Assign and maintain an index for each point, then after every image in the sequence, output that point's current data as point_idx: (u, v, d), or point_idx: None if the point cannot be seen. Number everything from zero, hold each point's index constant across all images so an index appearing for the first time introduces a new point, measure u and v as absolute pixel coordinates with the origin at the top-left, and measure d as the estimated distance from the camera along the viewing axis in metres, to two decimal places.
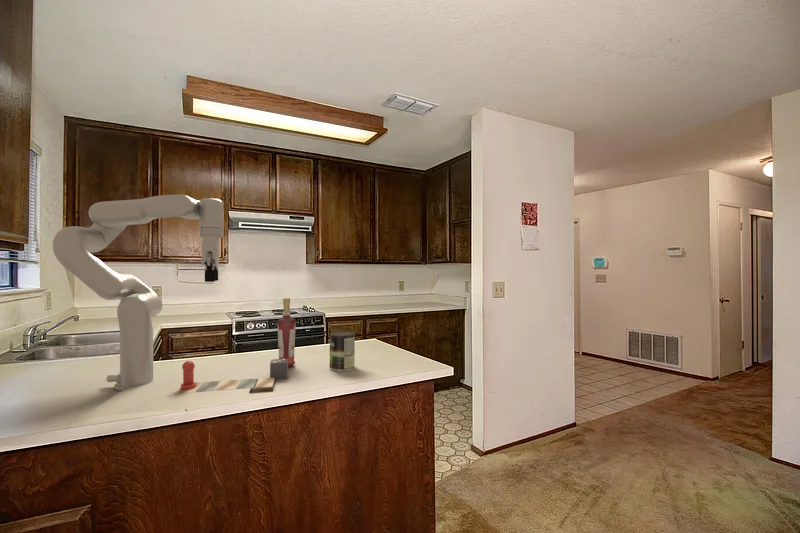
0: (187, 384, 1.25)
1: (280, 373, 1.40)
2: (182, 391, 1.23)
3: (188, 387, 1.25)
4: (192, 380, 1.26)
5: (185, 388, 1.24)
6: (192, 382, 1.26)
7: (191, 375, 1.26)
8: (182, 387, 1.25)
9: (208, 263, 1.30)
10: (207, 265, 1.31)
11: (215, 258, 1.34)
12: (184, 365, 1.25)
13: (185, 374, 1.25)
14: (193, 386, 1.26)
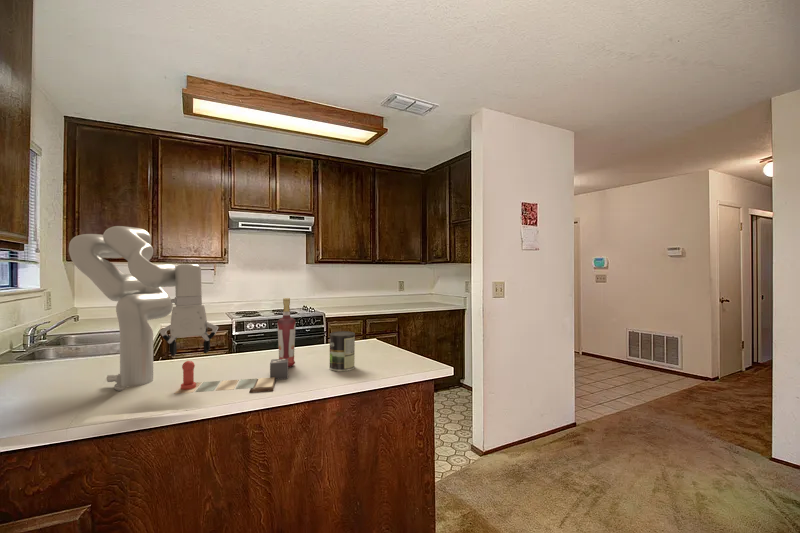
0: (187, 384, 1.25)
1: (280, 373, 1.40)
2: (182, 391, 1.23)
3: (188, 387, 1.25)
4: (192, 380, 1.26)
5: (185, 388, 1.24)
6: (192, 382, 1.26)
7: (191, 375, 1.26)
8: (182, 387, 1.25)
9: (215, 332, 1.28)
10: (213, 335, 1.28)
11: None
12: (184, 365, 1.25)
13: (185, 374, 1.25)
14: (193, 386, 1.26)
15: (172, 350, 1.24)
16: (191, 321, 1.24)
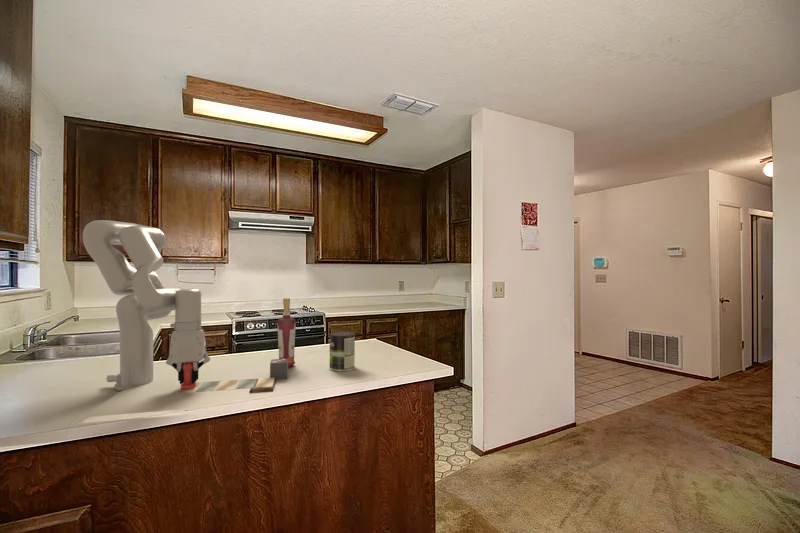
0: (187, 384, 1.25)
1: (280, 373, 1.40)
2: (182, 391, 1.23)
3: (188, 387, 1.25)
4: None
5: (185, 388, 1.24)
6: None
7: (191, 375, 1.26)
8: (182, 387, 1.25)
9: (204, 363, 1.28)
10: None
11: None
12: (184, 365, 1.25)
13: (185, 374, 1.25)
14: (193, 386, 1.26)
15: (181, 378, 1.25)
16: (190, 346, 1.24)
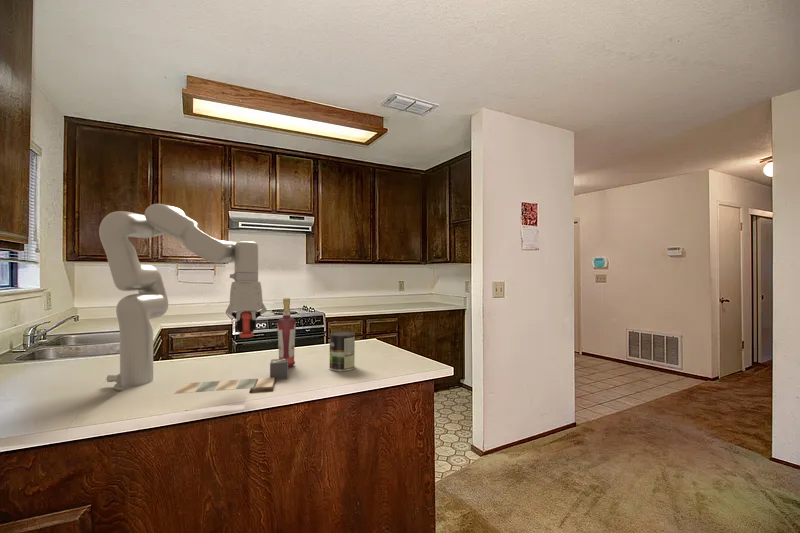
0: (246, 332, 1.29)
1: (280, 373, 1.40)
2: (182, 391, 1.23)
3: (247, 335, 1.29)
4: None
5: (244, 336, 1.29)
6: (250, 331, 1.31)
7: (249, 324, 1.30)
8: (241, 335, 1.29)
9: None
10: (258, 315, 1.31)
11: None
12: (243, 314, 1.29)
13: (244, 323, 1.29)
14: (251, 335, 1.30)
15: (240, 327, 1.29)
16: (249, 296, 1.28)
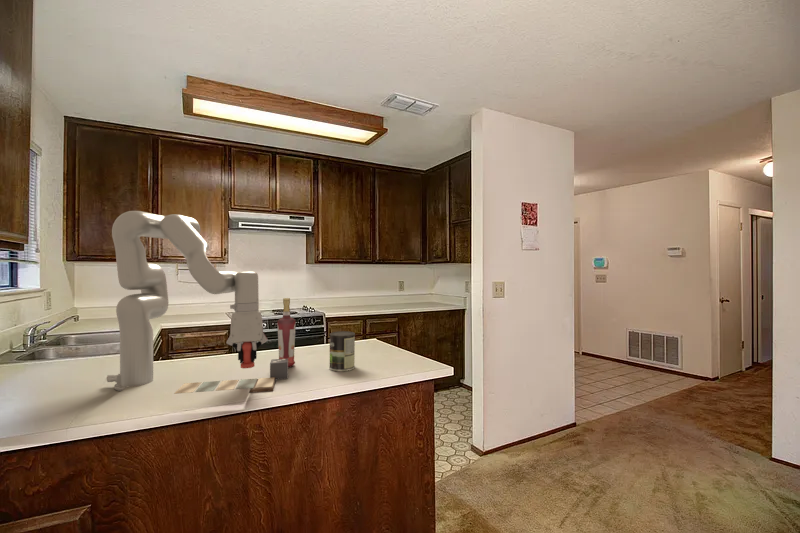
0: (247, 363, 1.29)
1: (280, 373, 1.40)
2: (182, 391, 1.23)
3: (248, 366, 1.29)
4: None
5: (245, 367, 1.29)
6: None
7: (250, 354, 1.30)
8: (242, 366, 1.29)
9: (262, 343, 1.32)
10: None
11: None
12: (244, 345, 1.29)
13: (245, 353, 1.29)
14: (252, 365, 1.30)
15: (241, 358, 1.29)
16: (250, 326, 1.28)
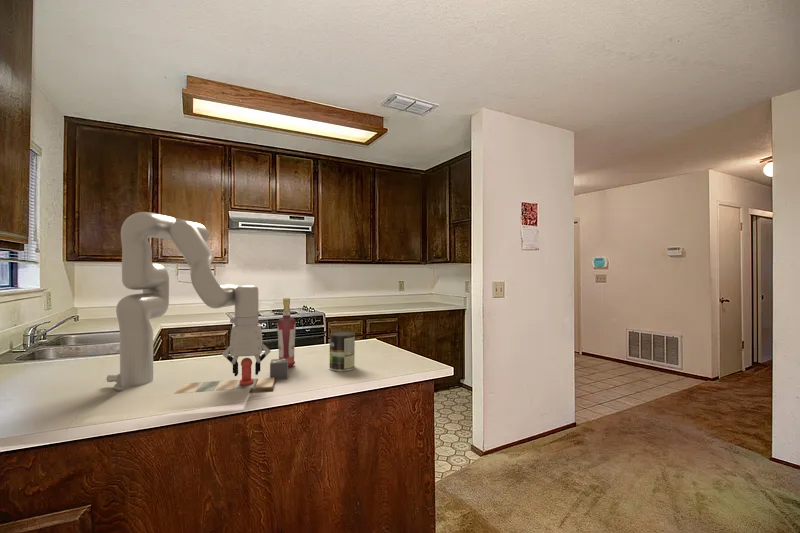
0: (246, 380, 1.29)
1: (280, 373, 1.40)
2: (182, 391, 1.23)
3: (247, 383, 1.29)
4: (250, 376, 1.31)
5: (244, 384, 1.29)
6: (250, 378, 1.31)
7: (249, 371, 1.30)
8: (241, 383, 1.29)
9: (266, 355, 1.32)
10: None
11: None
12: (243, 362, 1.29)
13: (244, 370, 1.29)
14: (251, 382, 1.30)
15: (235, 371, 1.29)
16: (250, 341, 1.28)
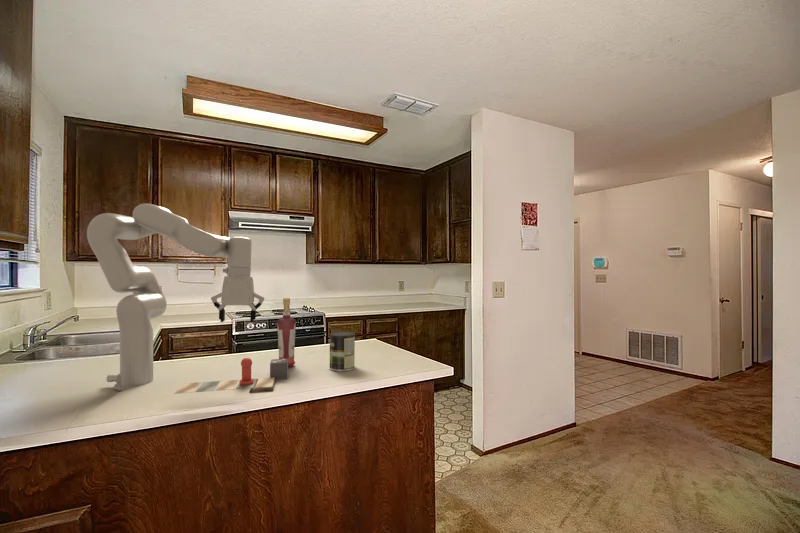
0: (246, 380, 1.29)
1: (280, 373, 1.40)
2: (182, 391, 1.23)
3: (247, 383, 1.29)
4: (250, 376, 1.31)
5: (244, 384, 1.29)
6: (250, 378, 1.31)
7: (249, 371, 1.30)
8: (241, 383, 1.29)
9: (261, 303, 1.36)
10: (260, 305, 1.35)
11: None
12: (243, 362, 1.29)
13: (244, 370, 1.29)
14: (251, 382, 1.30)
15: (221, 317, 1.31)
16: (241, 290, 1.31)
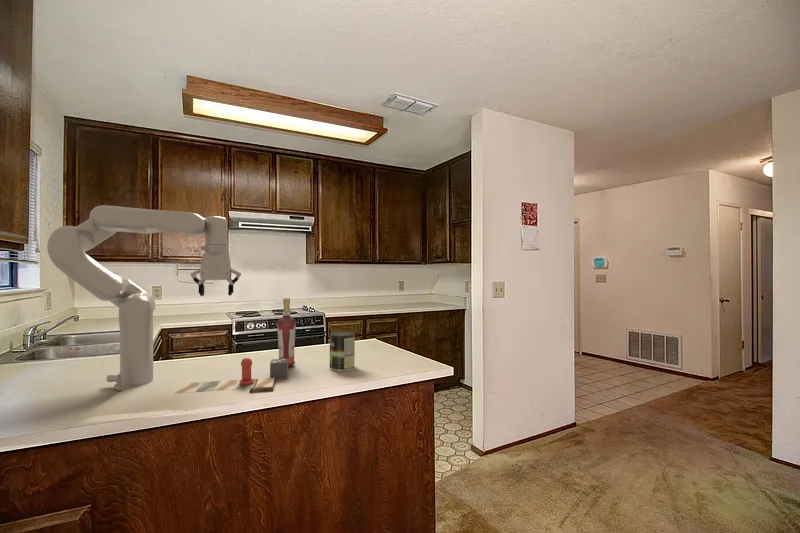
0: (246, 380, 1.29)
1: (280, 373, 1.40)
2: (182, 391, 1.23)
3: (247, 383, 1.29)
4: (250, 376, 1.31)
5: (244, 384, 1.29)
6: (250, 378, 1.31)
7: (249, 371, 1.30)
8: (241, 383, 1.29)
9: (238, 278, 1.46)
10: (237, 280, 1.46)
11: None
12: (243, 362, 1.29)
13: (244, 370, 1.29)
14: (251, 382, 1.30)
15: (201, 291, 1.42)
16: (218, 266, 1.42)
